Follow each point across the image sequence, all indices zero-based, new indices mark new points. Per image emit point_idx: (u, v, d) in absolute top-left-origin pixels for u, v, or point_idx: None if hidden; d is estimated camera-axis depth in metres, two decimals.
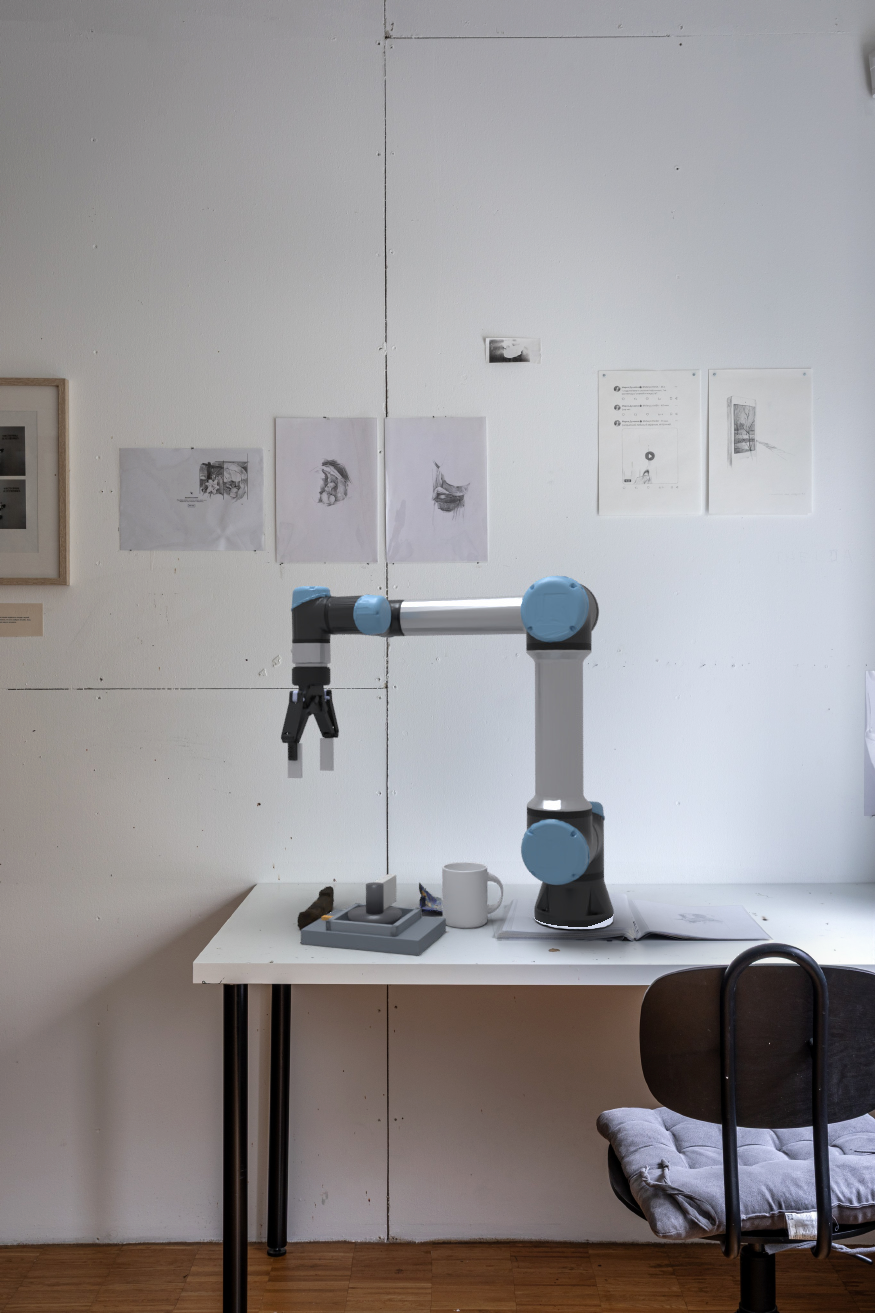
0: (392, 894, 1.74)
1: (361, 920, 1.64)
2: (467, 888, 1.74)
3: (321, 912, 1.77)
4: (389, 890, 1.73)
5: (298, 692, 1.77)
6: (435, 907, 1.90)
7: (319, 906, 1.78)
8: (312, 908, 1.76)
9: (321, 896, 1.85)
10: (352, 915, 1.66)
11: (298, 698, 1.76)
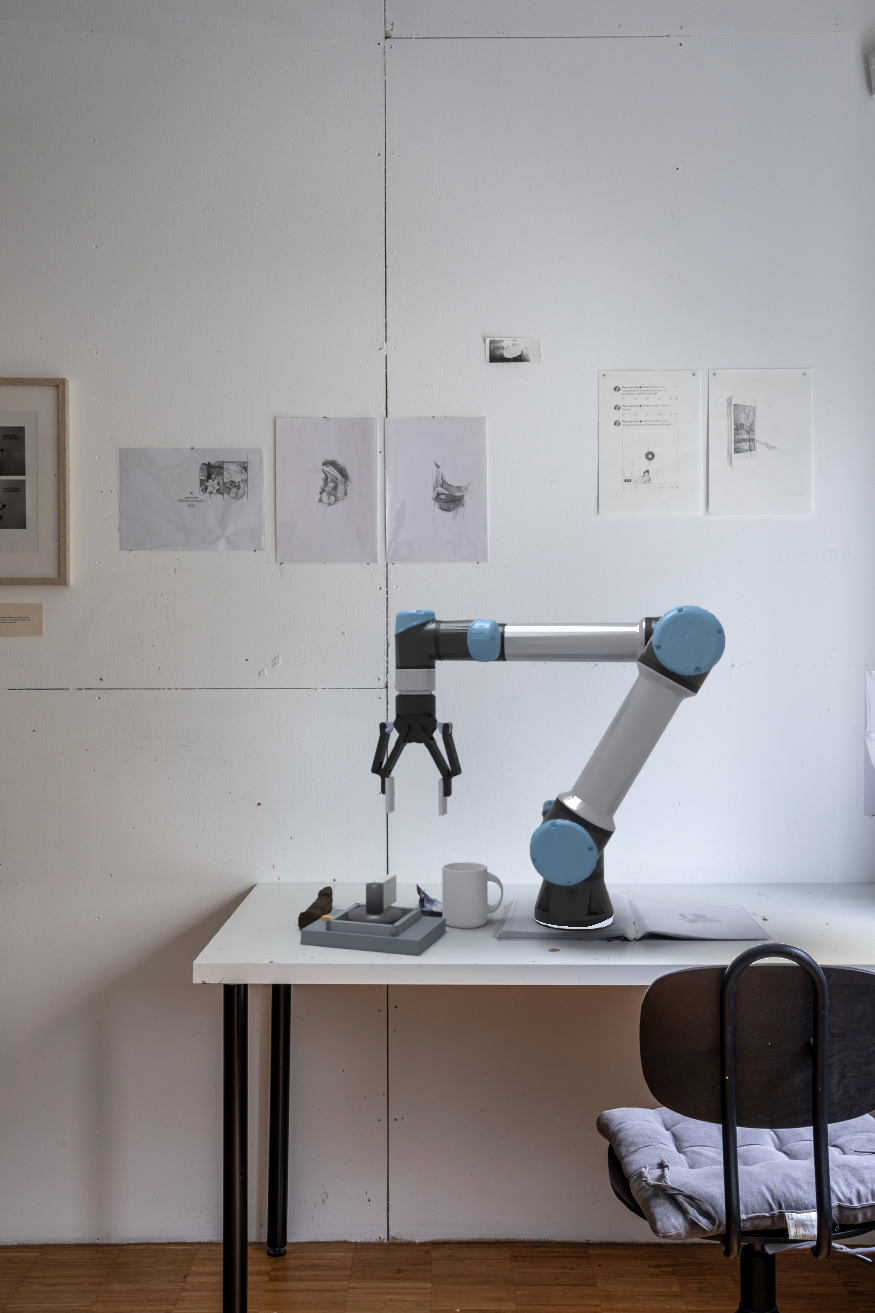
0: (392, 894, 1.74)
1: (361, 920, 1.64)
2: (467, 888, 1.74)
3: (321, 912, 1.77)
4: (389, 890, 1.73)
5: None
6: None
7: (319, 906, 1.78)
8: (312, 908, 1.76)
9: (320, 896, 1.85)
10: (352, 915, 1.66)
11: None
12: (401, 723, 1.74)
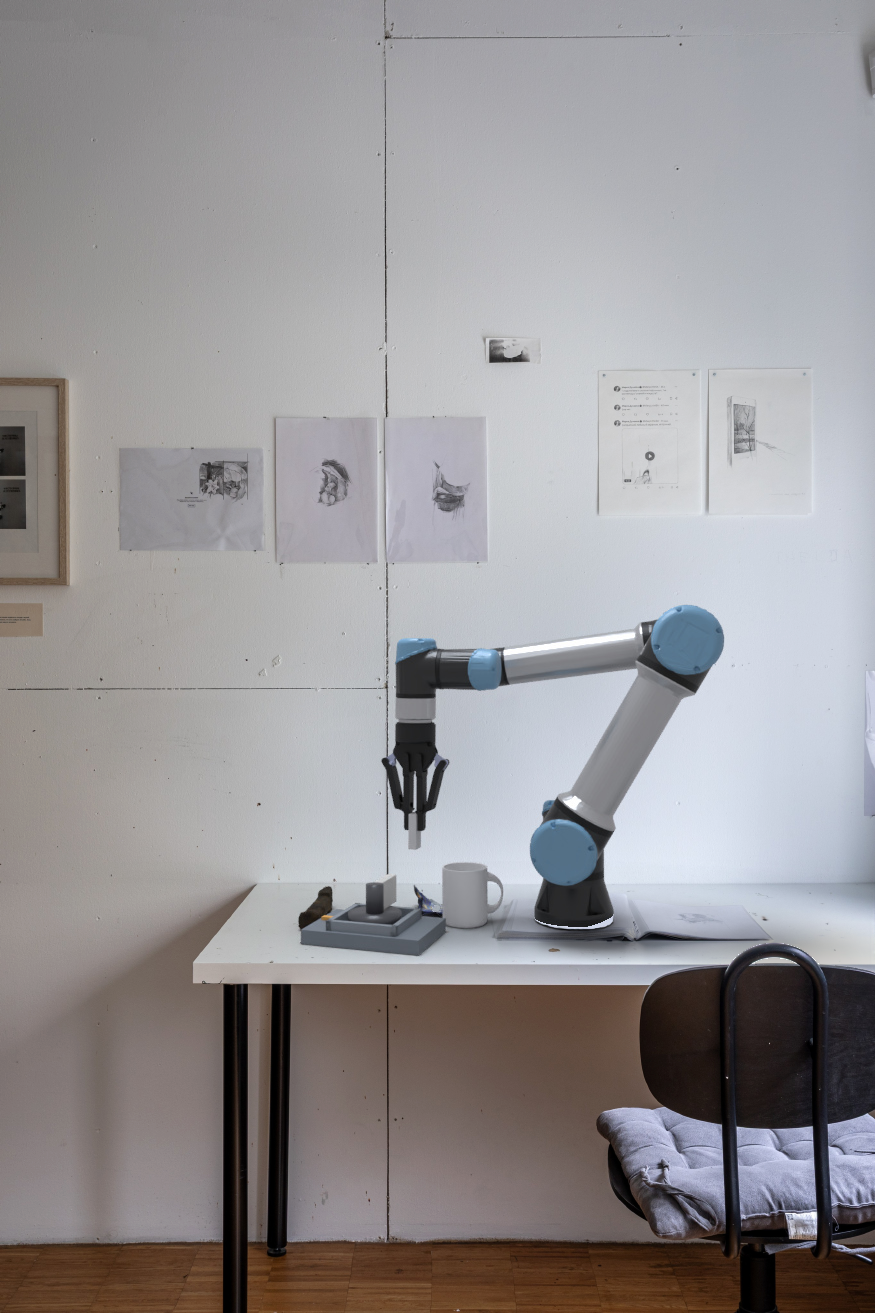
0: (392, 894, 1.74)
1: (361, 920, 1.64)
2: (467, 888, 1.74)
3: (321, 912, 1.77)
4: (389, 890, 1.73)
5: None
6: (431, 909, 1.88)
7: (319, 906, 1.78)
8: (313, 908, 1.76)
9: (320, 896, 1.85)
10: (352, 915, 1.66)
11: None
12: (400, 749, 1.74)
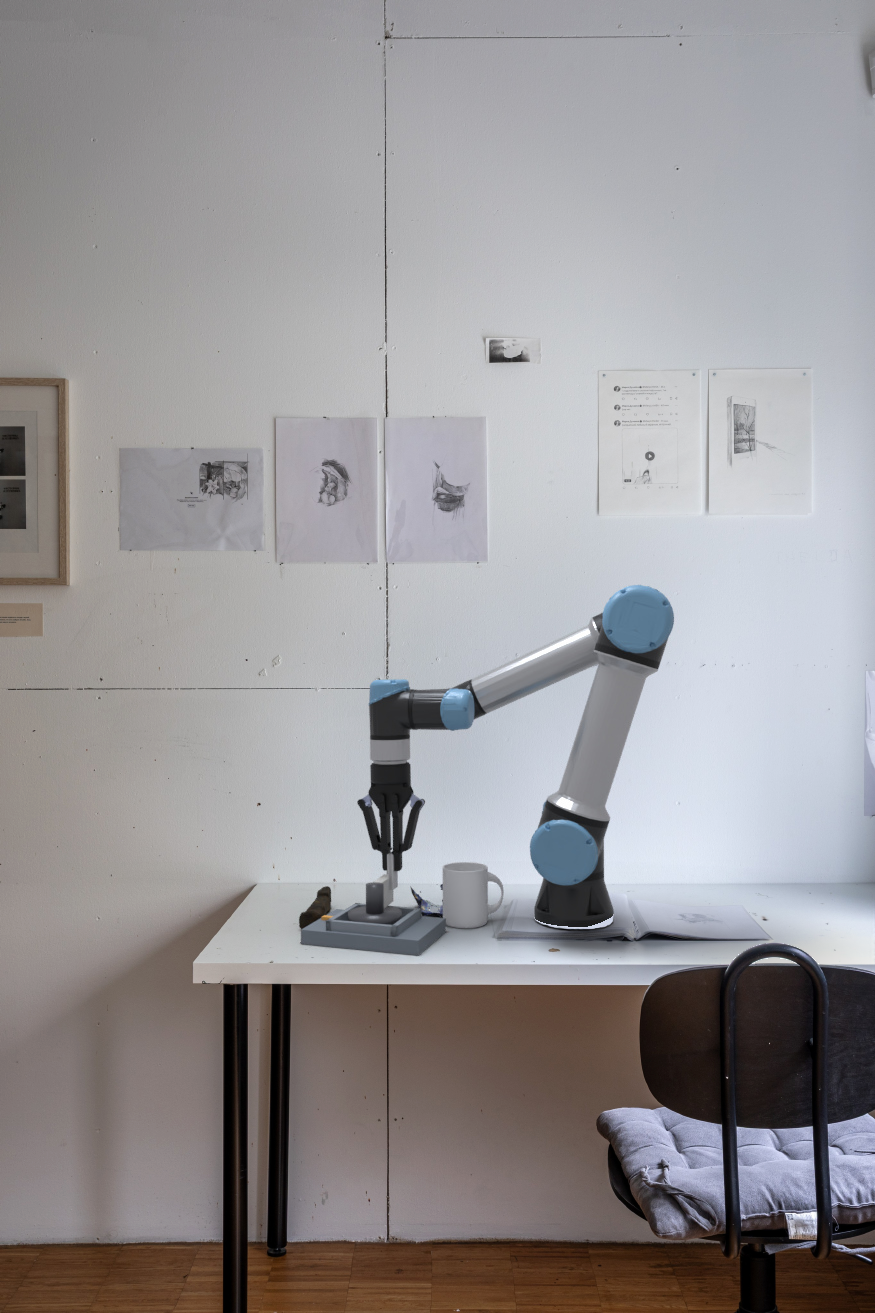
0: (390, 894, 1.74)
1: (363, 920, 1.64)
2: (467, 888, 1.74)
3: (322, 912, 1.77)
4: (387, 889, 1.73)
5: None
6: None
7: (319, 906, 1.78)
8: (313, 908, 1.76)
9: (319, 896, 1.85)
10: (353, 915, 1.66)
11: None
12: (375, 790, 1.74)
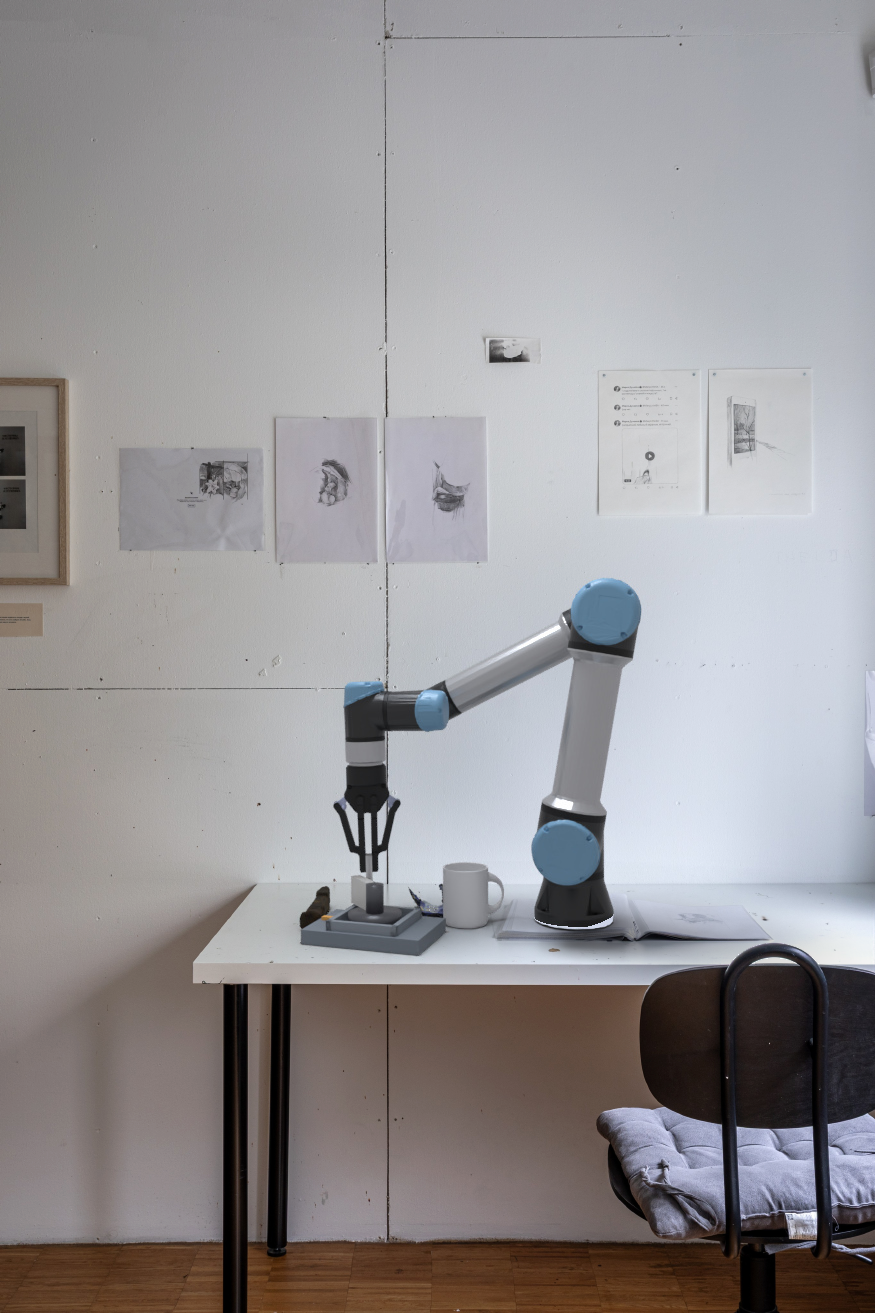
0: None
1: (383, 920, 1.64)
2: (468, 889, 1.74)
3: (322, 912, 1.77)
4: None
5: None
6: (427, 910, 1.87)
7: (319, 906, 1.78)
8: (313, 908, 1.76)
9: (319, 896, 1.85)
10: (367, 918, 1.64)
11: (336, 811, 1.74)
12: (352, 793, 1.74)
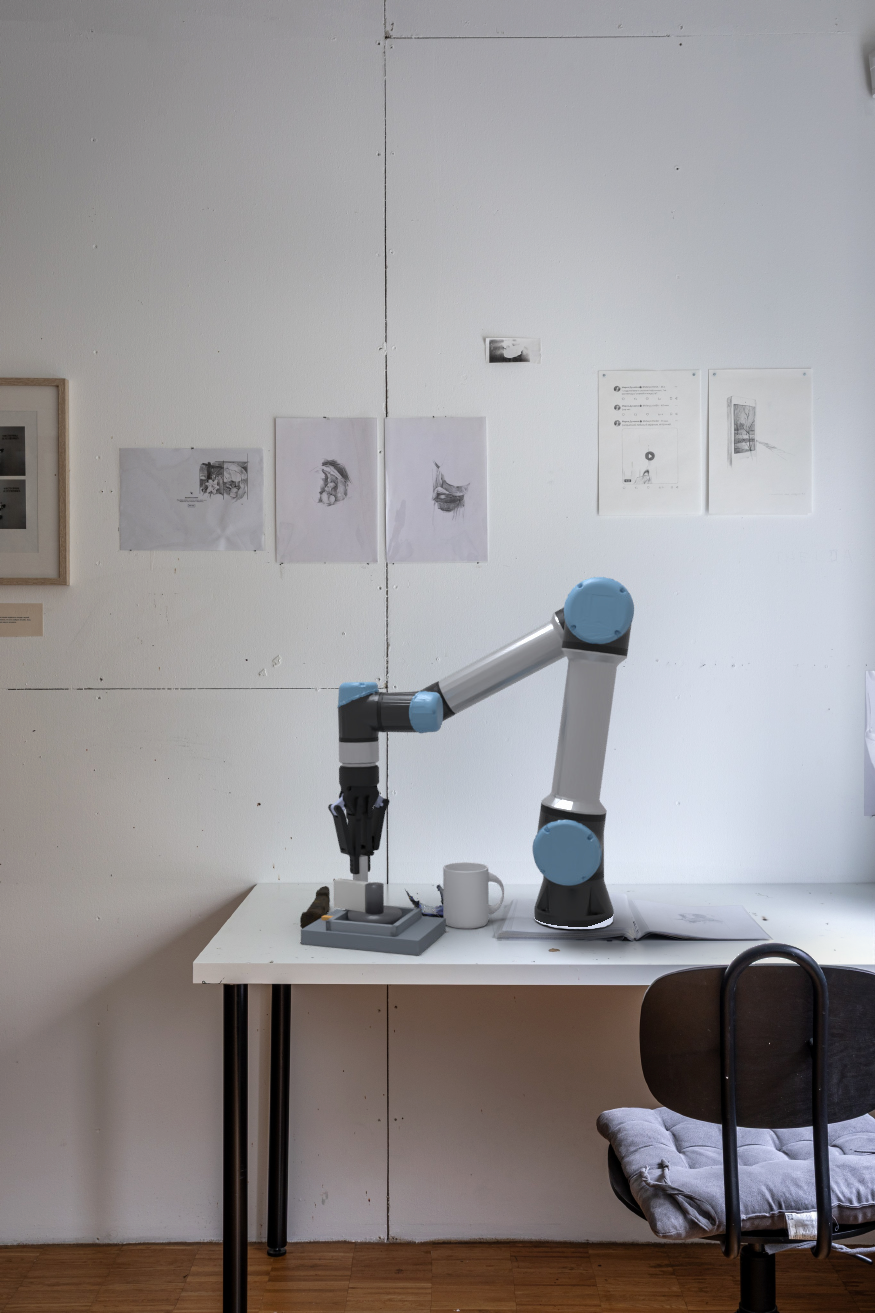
0: None
1: (395, 918, 1.66)
2: (468, 889, 1.74)
3: (322, 912, 1.77)
4: None
5: (334, 809, 1.70)
6: None
7: (320, 906, 1.78)
8: (314, 908, 1.76)
9: (319, 896, 1.85)
10: (380, 918, 1.64)
11: (337, 814, 1.70)
12: (351, 794, 1.72)
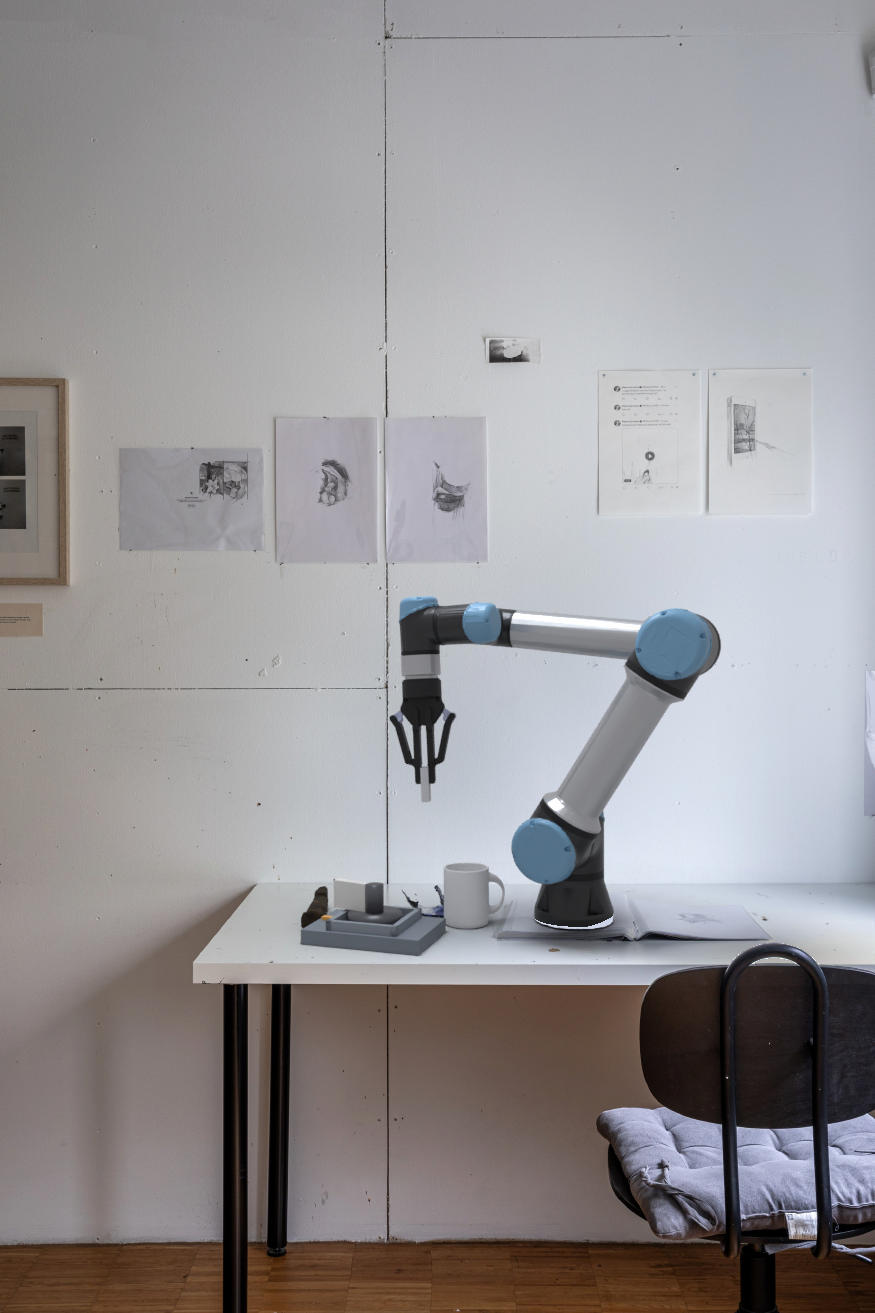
0: None
1: (395, 918, 1.66)
2: (468, 889, 1.74)
3: (322, 912, 1.77)
4: None
5: None
6: None
7: (320, 906, 1.78)
8: (314, 908, 1.76)
9: (317, 896, 1.85)
10: (380, 918, 1.64)
11: (393, 723, 1.79)
12: (408, 706, 1.78)
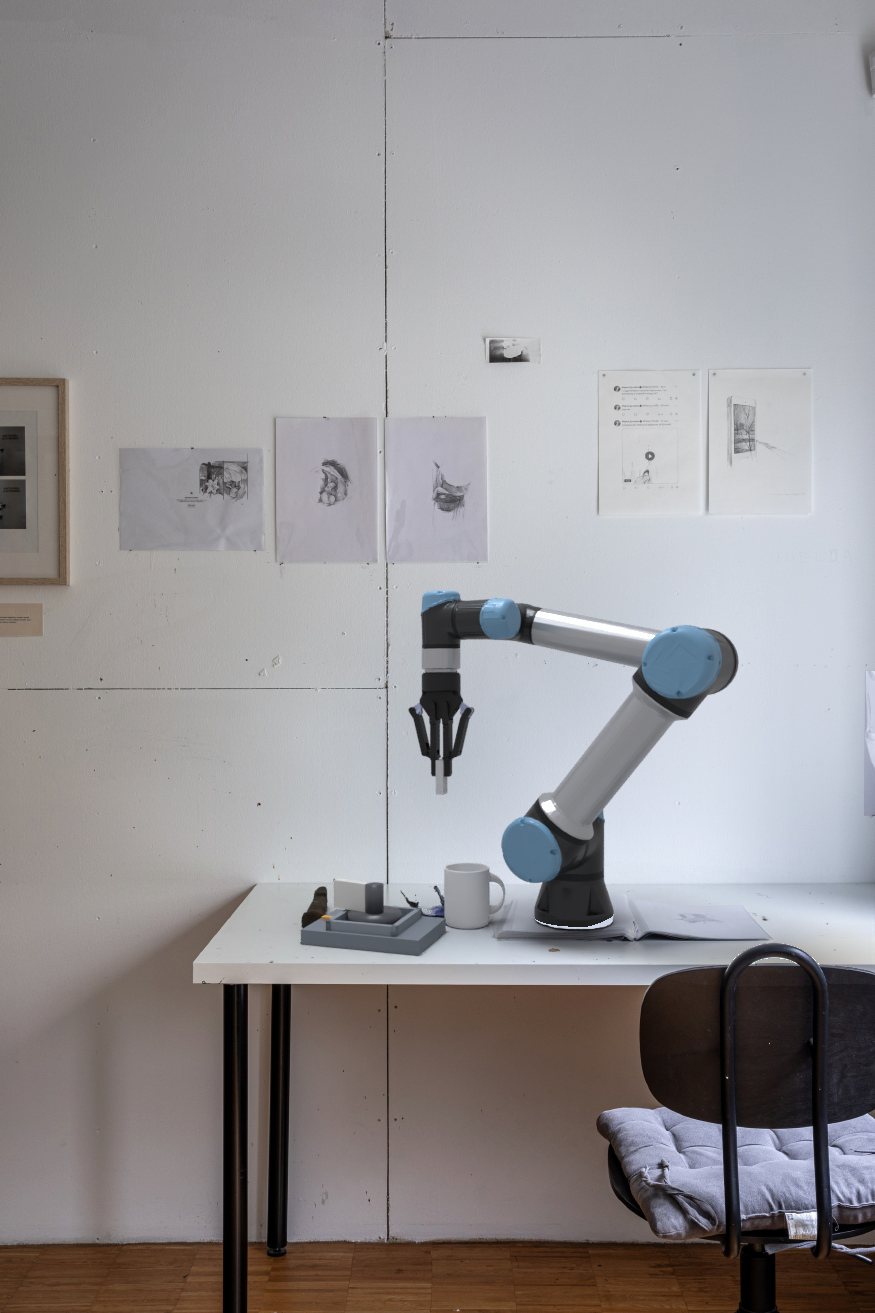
0: None
1: (395, 918, 1.66)
2: (469, 889, 1.73)
3: (322, 912, 1.78)
4: None
5: None
6: None
7: (320, 906, 1.78)
8: (314, 908, 1.76)
9: (317, 896, 1.85)
10: (380, 918, 1.64)
11: None
12: (426, 698, 1.80)
